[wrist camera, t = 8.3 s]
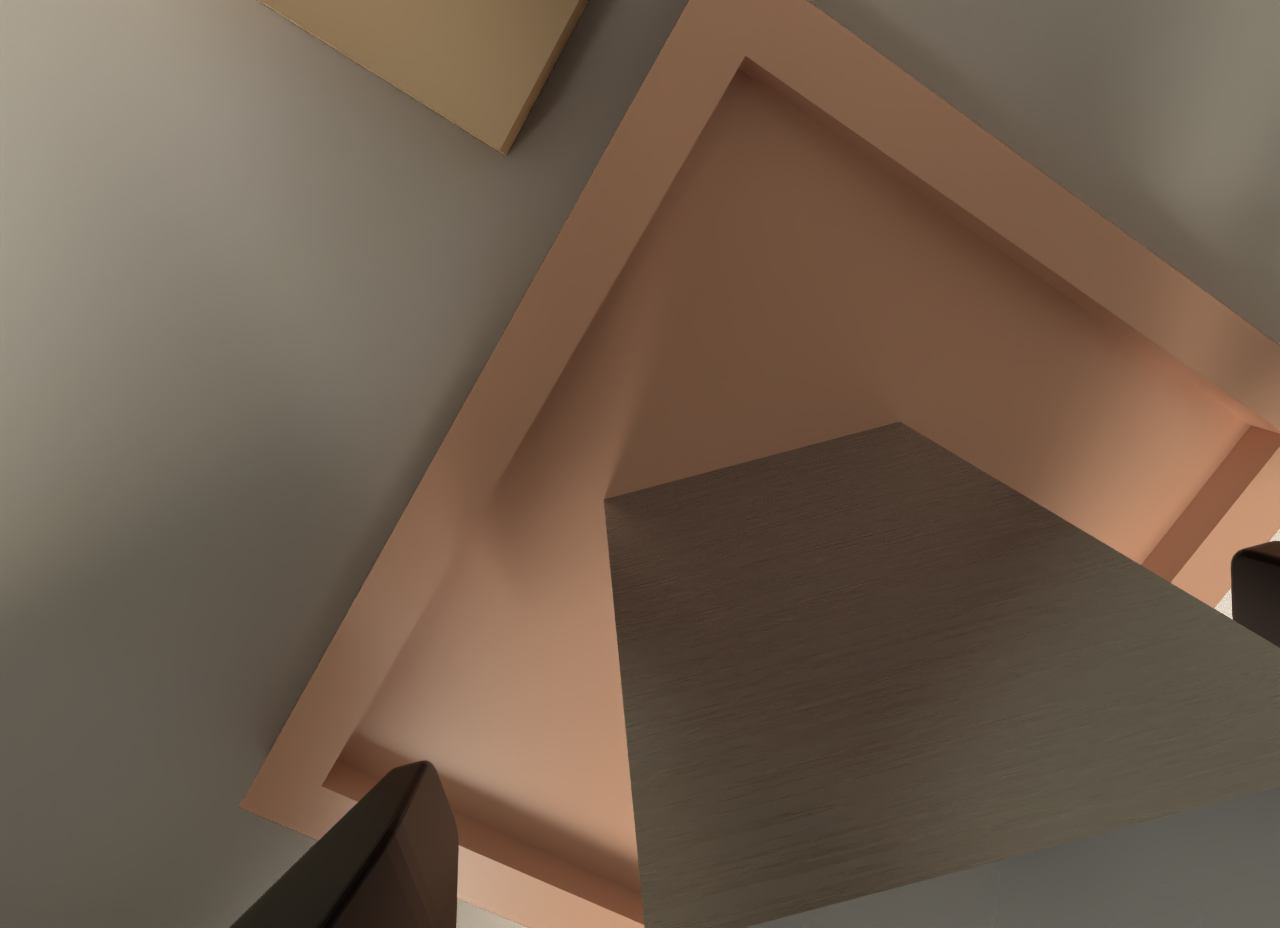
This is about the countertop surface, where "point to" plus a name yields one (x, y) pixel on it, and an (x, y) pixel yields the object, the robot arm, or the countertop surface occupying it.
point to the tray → (757, 422)
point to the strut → (929, 708)
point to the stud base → (450, 52)
